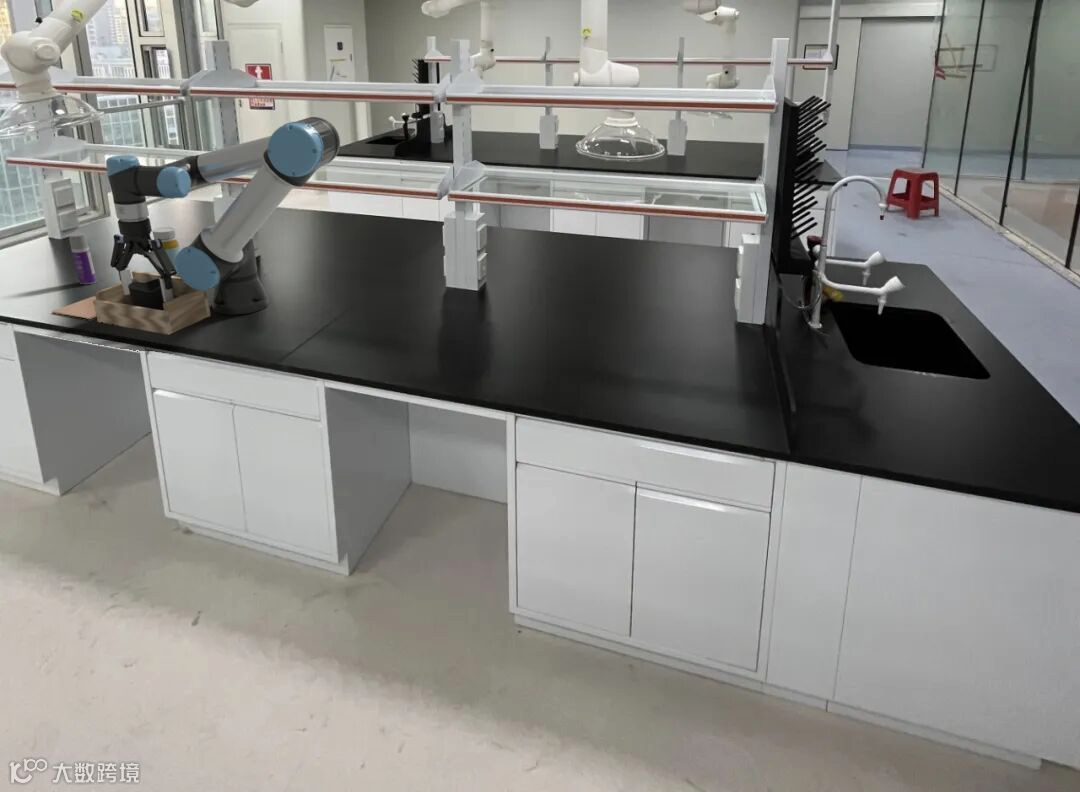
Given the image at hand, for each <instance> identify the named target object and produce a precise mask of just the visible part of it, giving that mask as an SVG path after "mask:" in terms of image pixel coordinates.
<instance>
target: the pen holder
mask: <svg viewBox="0 0 1080 792" xmlns="http://www.w3.org/2000/svg"><path fill="white" fill-rule="evenodd" d="M128 288H129V292H130V295H131V299H132V303H133V306H139V307H145V308H151V309H157V310H163V311H164V308H163V303H165V302H164V300H163V295H162V289H161V284H160V279H154V280H151V281H149V282H132V283H130V284H129V285H128Z"/></svg>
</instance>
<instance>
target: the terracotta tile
mask: <svg viewBox="0 0 1080 792" xmlns="http://www.w3.org/2000/svg"><path fill="white" fill-rule="evenodd" d="M94 300H96V296H94V295H93V296H91V297H88V298H85V299H81V300H80V301H77V302H74V303H71V304H68V305H66V306H63V307H59V308H57V309H55V310H52V311H51V314H53V313H56V314H55V315H58V314H63V315H62V316H64V315H70V316H76V317H82V318H86V319H92V318H95V317H97V316H96V312H95V308H94V304H93V301H94ZM70 316H69V317H70ZM86 319H85V320H86ZM95 319H96V318H95ZM92 320H93V319H92Z"/></svg>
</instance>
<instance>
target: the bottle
mask: <svg viewBox="0 0 1080 792" xmlns="http://www.w3.org/2000/svg"><path fill="white" fill-rule="evenodd" d="M152 236H153V240H155V239H161V241H162V245H163V248H164V250H165V251H166V253H167V255H168V257H169V259H170V260H171V262H172V264H173V266H174V268H175V270H176V271H177V268H176V266H175V260H176V256H177V254H178V253H179V252H180V251H181V249H180V245H179V242H178V240H177V238H176V233H175V229H174V227H170V226H168V227H157V228H154V229H152ZM170 271H171V270H170ZM164 273H165V272H164ZM173 276H175V277H180V276H179V275H178V272H177V274H176V275H173Z"/></svg>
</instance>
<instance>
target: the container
mask: <svg viewBox="0 0 1080 792" xmlns="http://www.w3.org/2000/svg"><path fill="white" fill-rule="evenodd" d="M68 238H69V245H70V248H71V255H72V258H73V262H74V265H75V268H76V273H77V278H78V280H79V284H80V285H81V284H85V285H84V286H87V285H86V284H91V285H94V284H93V283H95V284H96V282H97V283H98V279H97V275H96V272H95V267H94V264H93V259H92V253H91V251H90V247H89V243H88V239H87V236H86V233H85V232H73V233H69V234H68Z"/></svg>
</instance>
